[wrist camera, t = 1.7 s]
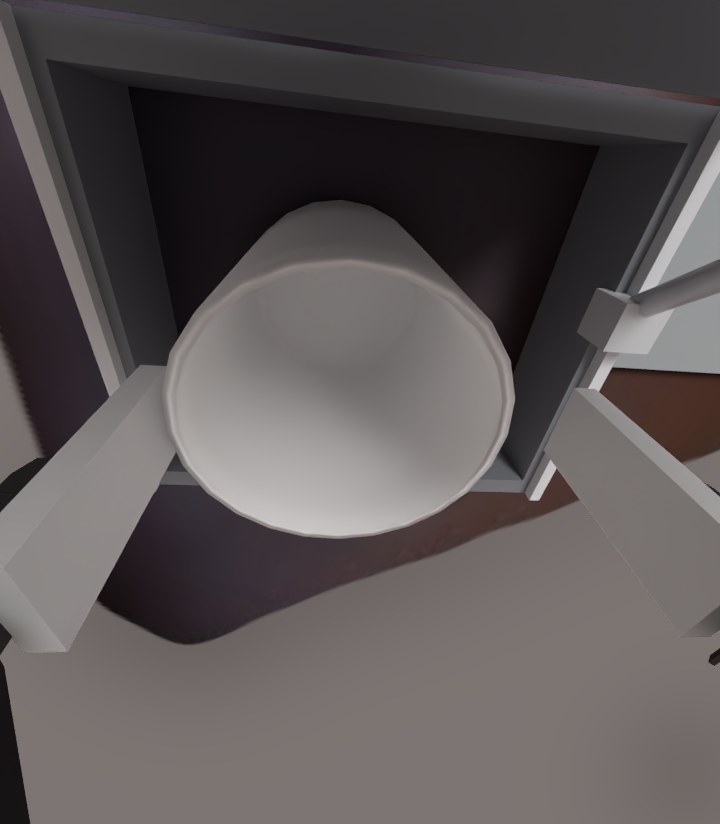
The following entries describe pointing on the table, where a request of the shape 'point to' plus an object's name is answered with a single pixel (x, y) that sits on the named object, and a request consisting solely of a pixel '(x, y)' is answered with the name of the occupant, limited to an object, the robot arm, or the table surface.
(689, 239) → the pad
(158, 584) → the table surface
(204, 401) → the mug
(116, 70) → the case
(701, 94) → the lid
